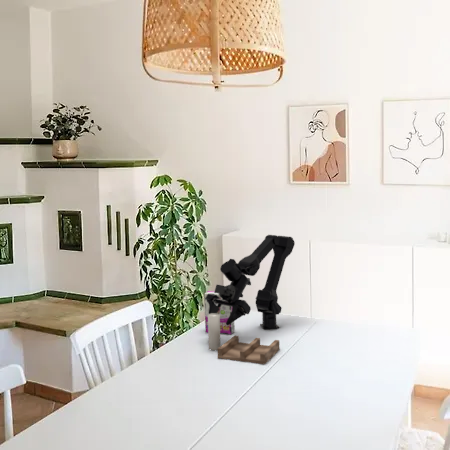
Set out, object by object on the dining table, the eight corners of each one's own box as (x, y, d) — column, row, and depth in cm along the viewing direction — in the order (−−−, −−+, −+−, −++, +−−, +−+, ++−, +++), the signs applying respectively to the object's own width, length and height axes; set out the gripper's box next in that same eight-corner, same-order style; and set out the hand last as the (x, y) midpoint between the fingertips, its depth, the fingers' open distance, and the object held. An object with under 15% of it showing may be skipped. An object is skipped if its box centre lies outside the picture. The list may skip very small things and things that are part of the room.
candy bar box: (235, 331, 247) (234, 291, 244) (231, 334, 242) (230, 294, 240) (208, 329, 250) (207, 290, 248) (204, 333, 245) (203, 293, 243)
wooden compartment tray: (234, 344, 230) (234, 335, 230) (279, 349, 223) (279, 340, 223) (217, 358, 216) (217, 348, 215) (264, 364, 209) (264, 354, 208)
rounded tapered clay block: (207, 347, 228) (206, 313, 226) (219, 346, 229) (218, 312, 227) (209, 351, 224) (208, 316, 222) (221, 350, 224) (220, 315, 223)
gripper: (208, 273, 234) (188, 306, 227) (245, 279, 222) (226, 315, 215) (222, 289, 241) (203, 322, 234) (259, 296, 229) (240, 331, 222)
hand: (217, 322), depth 226 cm, fingers open, 9 cm apart
